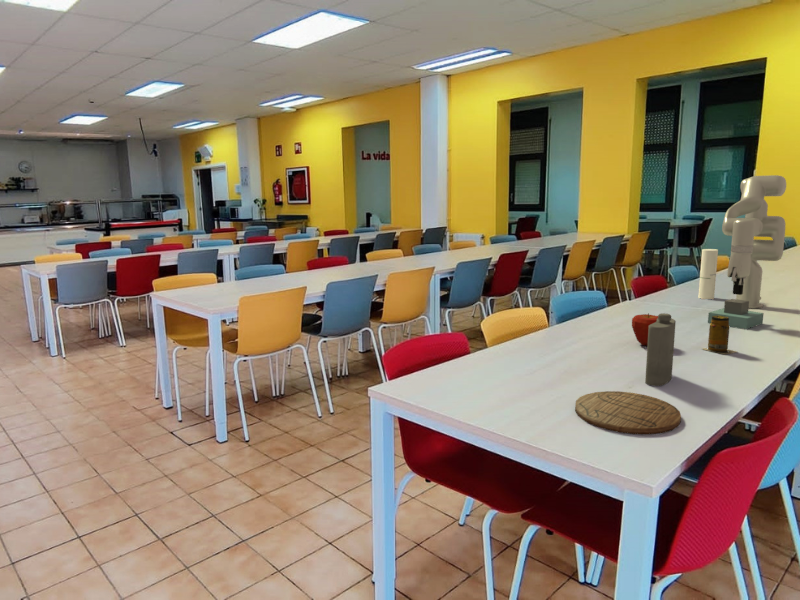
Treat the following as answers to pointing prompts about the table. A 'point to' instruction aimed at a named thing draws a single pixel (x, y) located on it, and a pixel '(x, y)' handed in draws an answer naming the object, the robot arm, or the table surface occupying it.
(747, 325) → the socket
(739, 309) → the plug
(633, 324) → the apple
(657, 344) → the flask
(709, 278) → the cylindrical container
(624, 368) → the table surface
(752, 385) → the table surface
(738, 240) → the robot arm
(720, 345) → the condiment
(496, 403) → the table surface
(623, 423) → the trivet
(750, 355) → the table surface
